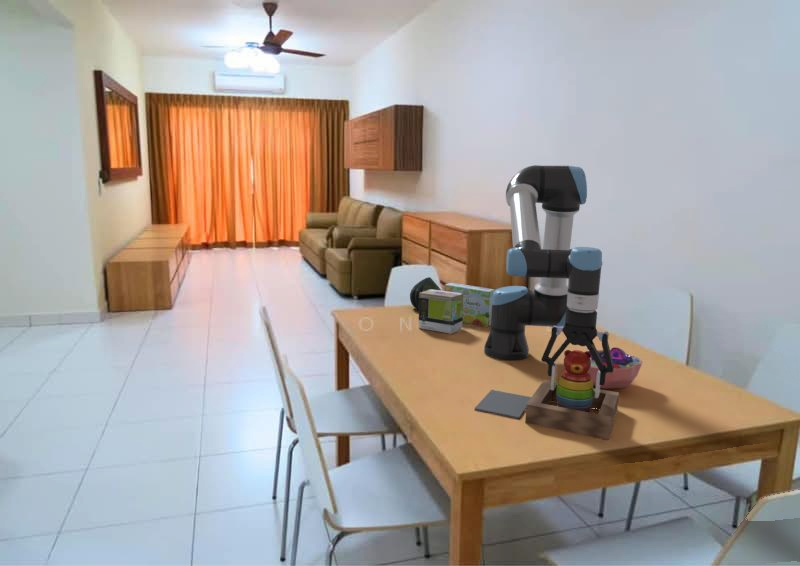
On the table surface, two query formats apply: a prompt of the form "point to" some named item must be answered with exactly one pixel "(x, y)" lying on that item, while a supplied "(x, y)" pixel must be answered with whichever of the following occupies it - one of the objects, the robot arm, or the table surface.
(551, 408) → the square wooden frame
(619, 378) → the cell model
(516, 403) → the rubber mat
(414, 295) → the squash
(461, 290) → the snack box
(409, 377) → the table surface
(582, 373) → the stacking bear
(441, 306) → the tea box
